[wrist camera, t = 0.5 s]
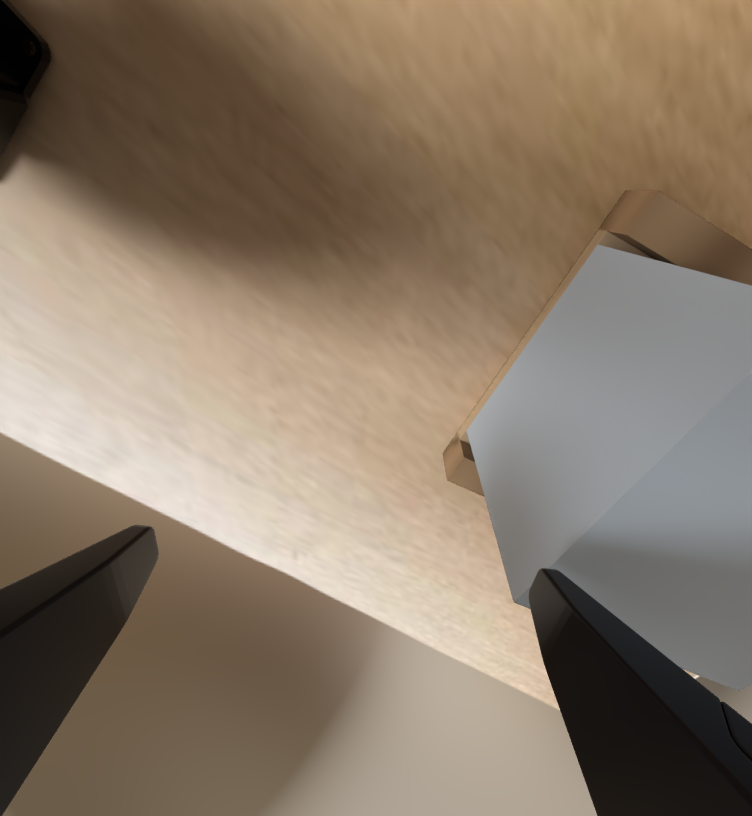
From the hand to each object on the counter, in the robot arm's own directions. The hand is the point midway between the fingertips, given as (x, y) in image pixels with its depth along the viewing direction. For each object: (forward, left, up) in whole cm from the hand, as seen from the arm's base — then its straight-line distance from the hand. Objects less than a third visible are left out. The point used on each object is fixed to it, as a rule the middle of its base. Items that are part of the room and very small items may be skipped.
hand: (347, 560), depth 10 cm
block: (+8, +8, -12) cm, 16 cm away
